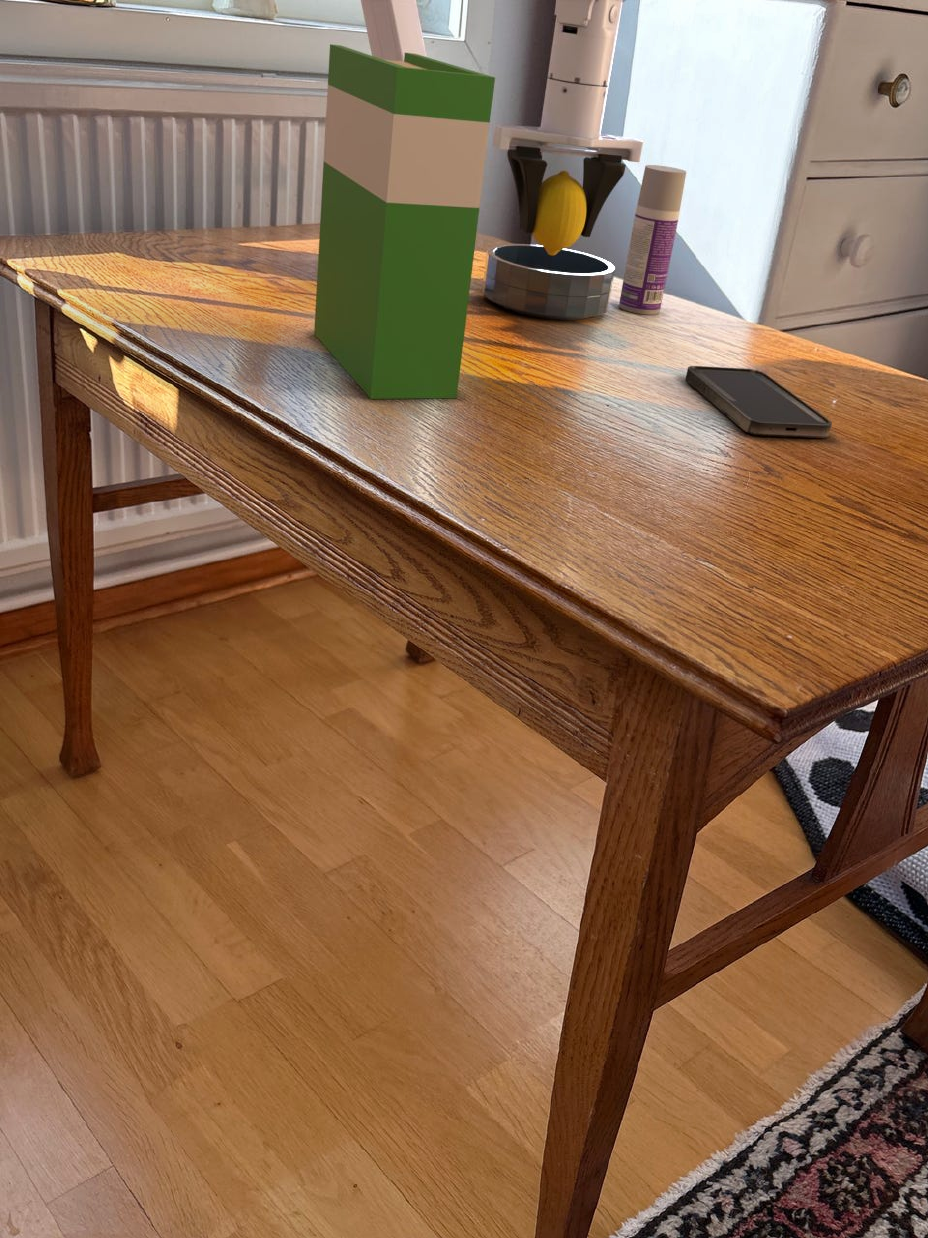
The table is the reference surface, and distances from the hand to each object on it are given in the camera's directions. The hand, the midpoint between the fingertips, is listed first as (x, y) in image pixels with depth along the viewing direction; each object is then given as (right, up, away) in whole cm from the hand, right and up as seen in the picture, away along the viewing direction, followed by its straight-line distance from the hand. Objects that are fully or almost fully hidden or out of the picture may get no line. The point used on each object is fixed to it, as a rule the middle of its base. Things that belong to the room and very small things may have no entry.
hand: (554, 232), depth 112 cm
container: (+11, -3, +17) cm, 20 cm away
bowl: (0, -4, +13) cm, 13 cm away
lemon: (0, -2, +1) cm, 2 cm away
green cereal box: (-16, -16, -13) cm, 26 cm away
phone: (+17, -19, -11) cm, 28 cm away
